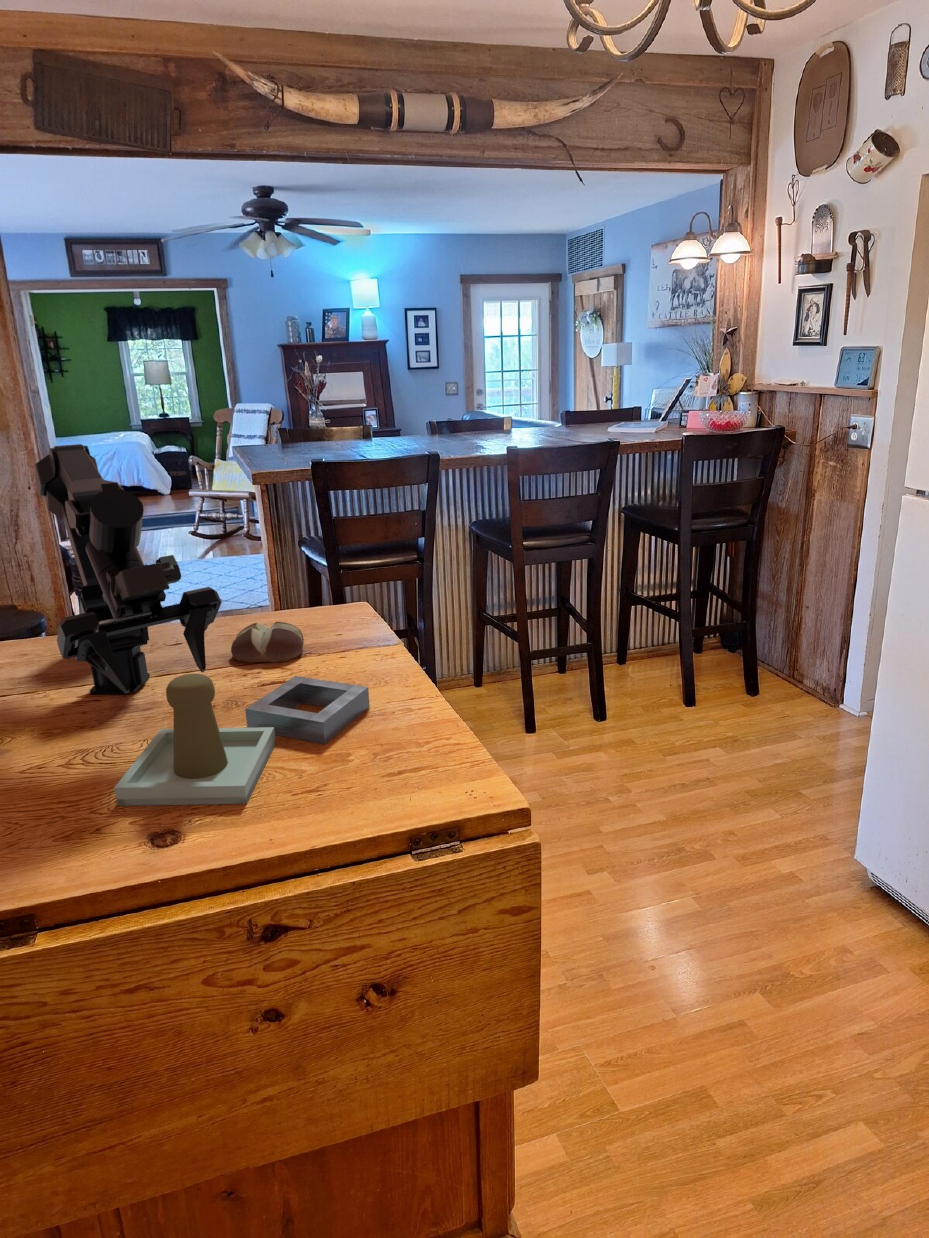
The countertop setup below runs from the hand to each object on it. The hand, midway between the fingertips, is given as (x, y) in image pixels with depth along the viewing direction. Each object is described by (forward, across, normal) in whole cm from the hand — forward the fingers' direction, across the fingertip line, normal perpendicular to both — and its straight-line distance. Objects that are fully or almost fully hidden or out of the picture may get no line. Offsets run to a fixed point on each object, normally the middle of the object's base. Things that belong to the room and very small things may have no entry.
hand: (166, 680), depth 97 cm
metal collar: (+9, +16, +4) cm, 19 cm away
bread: (-9, +24, +23) cm, 34 cm away
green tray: (+12, 0, 0) cm, 12 cm away
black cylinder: (-24, +6, +38) cm, 45 cm away
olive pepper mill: (+12, 0, 0) cm, 12 cm away
